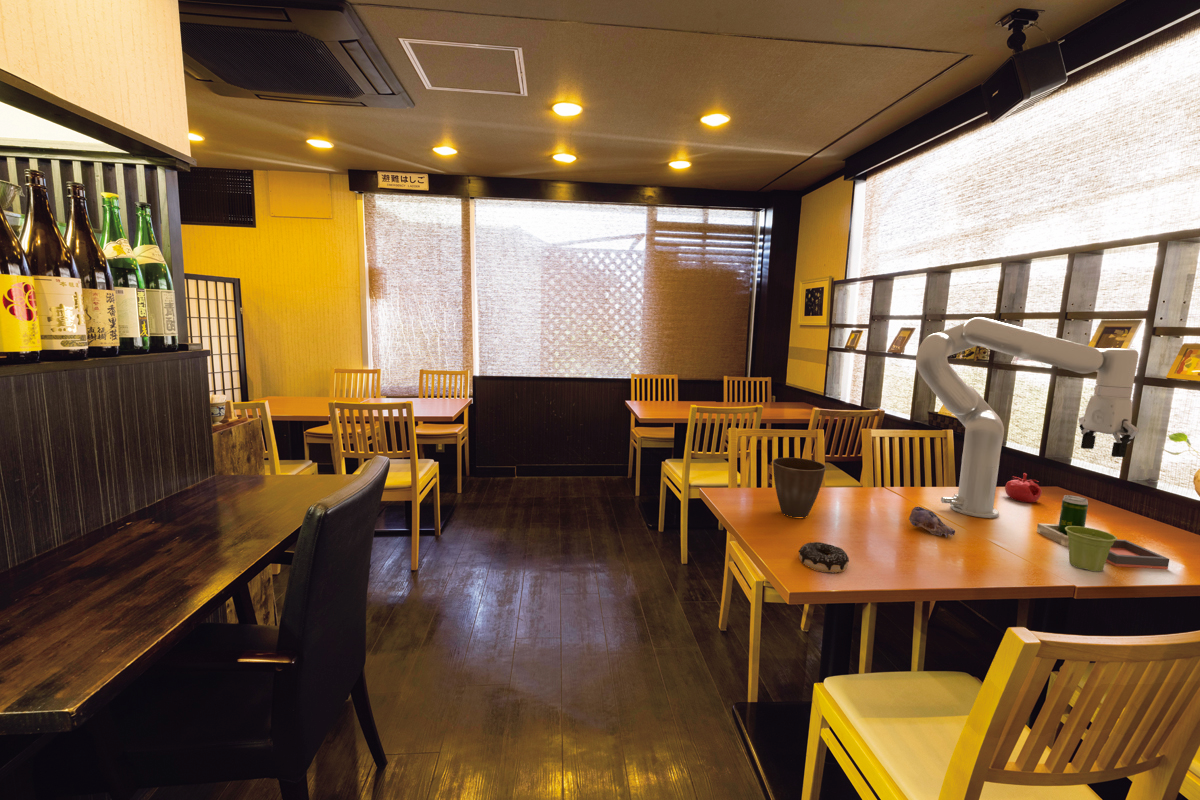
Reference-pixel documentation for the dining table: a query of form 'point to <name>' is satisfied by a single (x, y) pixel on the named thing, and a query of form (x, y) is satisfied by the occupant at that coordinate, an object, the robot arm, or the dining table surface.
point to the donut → (823, 557)
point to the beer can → (1072, 512)
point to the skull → (929, 522)
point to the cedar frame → (1053, 533)
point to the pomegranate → (1023, 490)
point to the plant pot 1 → (797, 484)
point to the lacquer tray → (1135, 556)
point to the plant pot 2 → (1088, 547)
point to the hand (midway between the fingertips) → (1102, 452)
